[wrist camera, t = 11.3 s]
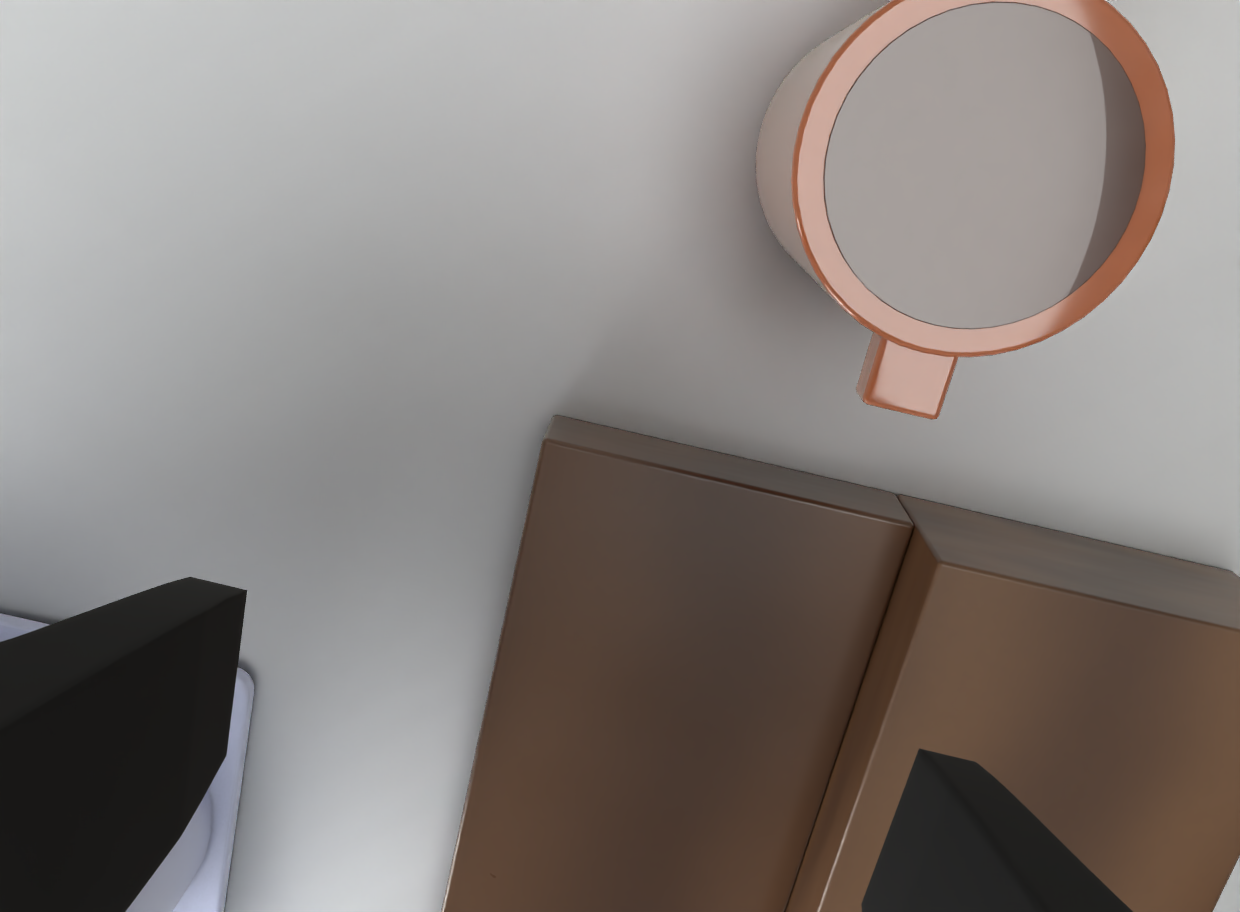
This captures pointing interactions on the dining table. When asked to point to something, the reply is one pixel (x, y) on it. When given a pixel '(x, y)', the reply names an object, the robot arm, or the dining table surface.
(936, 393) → the double-handled copper mug
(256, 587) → the dining table surface
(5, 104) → the dining table surface
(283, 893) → the dining table surface
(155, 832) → the robot arm
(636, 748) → the brown slab
